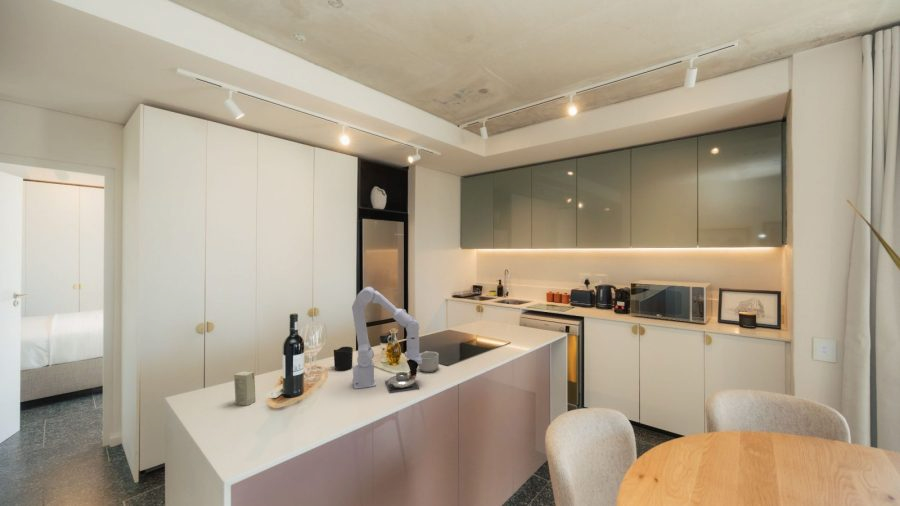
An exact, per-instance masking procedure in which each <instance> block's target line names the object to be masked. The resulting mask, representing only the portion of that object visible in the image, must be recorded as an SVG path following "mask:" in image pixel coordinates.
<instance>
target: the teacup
mask: <svg viewBox="0 0 900 506" xmlns="http://www.w3.org/2000/svg"><path fill="white" fill-rule="evenodd" d="M419 354H422V356H420V357H421V359H422V364H419V365H418V368H419V370H420V371H422V372H425V373H431V372H435V371H436V370H437V368H439V364H440V363H439V361H440V360H439V355H440V354H439V352H437V351H428V350H425V351H423V352H419Z"/></svg>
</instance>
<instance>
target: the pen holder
mask: <svg viewBox="0 0 900 506" xmlns="http://www.w3.org/2000/svg"><path fill="white" fill-rule="evenodd" d="M353 349H354V348H353V347H352V346H341V347H339V348H337V349H333V360H334V361H333V363H334V370H335V371H337V372H345V371H349V370H351V369H353V359H354V358H353V357H354V356H353V355H354V354H353V353H354V351H353Z"/></svg>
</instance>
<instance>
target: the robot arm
mask: <svg viewBox="0 0 900 506" xmlns="http://www.w3.org/2000/svg"><path fill="white" fill-rule="evenodd" d="M370 302H371V303H372V304H379V305H381V306H382V307H383V308H384V309H386V311H388V312H389V313H390V314H392V319H393V320H395V322H397V323H398V324H399V325H400V326H402V327H403V328H405V330H406V351H405V352H404V357H406V359H407V360H406V363H407V365H408V367H409V371H410V373H411V376H415V375H416V376H417V374H418V368H419V366H418V365H419V364H422V359H421V357H420V356H422V354H420V335H419V334H420V333H419V330H420V326H419V322H418V320H417V319H416V318H415V317H414V316H411V315H409V313H408V312H407V310H406V309H404V308H397V306H395V305H394V304H393V303H391V301H390V300H389V299H387V298H386V297H385V296H384V295H383V294H382V293H380V291H378V290H376V289H375V288H374V287H372V286H366V287H364V288H363V289H362V290H360V291H359V293H357V295H356V297H355V300H354V302H353V304H352V306H351V311H352V316H353V322H354V328H355V334H356V339H357V348H358V349H357V353H358V354H357V355H358V356H357V361H356V363H357V365H352V384H353V389H355V390H357V389H362V388H363V389H364V388H371V387H376V386H377V383H376V381H375V362H374V361H373V359H374V355H375V353H374V350H373V349H372V347H371V344H370V341H369V333H368V327H367V322H366V317H365V310H364V309H365V307H366V306H367V305H368V304H369V303H370Z"/></svg>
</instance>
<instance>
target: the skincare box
mask: <svg viewBox="0 0 900 506" xmlns="http://www.w3.org/2000/svg"><path fill="white" fill-rule="evenodd" d="M233 379H234V380H233V381H234V397H235V398H234V399H235V400H234V401H235V405H237V404H238V405H239V406H249V405H252V404H253V403H256V401H257V398H256V381H255V379H256V378H255V372H254V371H244V370H242V371H240V372H237V373H235V374H234V375H233Z"/></svg>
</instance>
